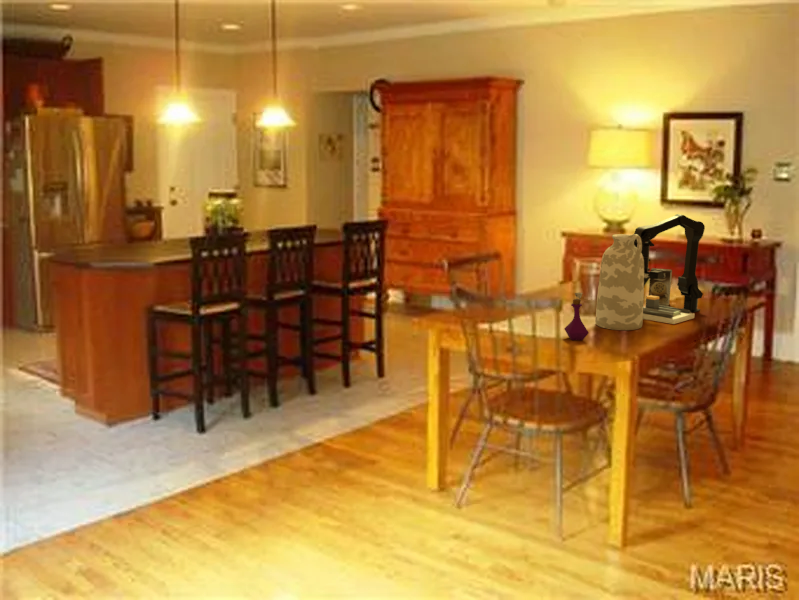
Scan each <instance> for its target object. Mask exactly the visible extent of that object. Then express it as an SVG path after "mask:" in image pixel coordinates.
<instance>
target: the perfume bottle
mask: <svg viewBox="0 0 799 600" xmlns="http://www.w3.org/2000/svg"><path fill="white" fill-rule="evenodd" d="M582 295H583V292H574V296H575V297H576V298H574V299H573V300H572V302H573V303H571V304H570V305H571V307H573V310H574V311H573V318H572V320H571V321H570V322H569V323H568V324H567V325H566V326H565V327H564V329H563V330H564V331H565V333H566V335H567V337H568V338H569V339H570V340H571V341H583V340H584V339H585V338H586V337H587V336H588V335H589V331H588V329H587V328H586V325H584V322H583V321H582V318H581V315H580V308H581V307H582V306H583V304H582V303H581V301H582V299H581V298H582Z"/></svg>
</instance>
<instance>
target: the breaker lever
mask: <svg viewBox="0 0 799 600" xmlns="http://www.w3.org/2000/svg"><path fill="white" fill-rule="evenodd" d="M645 306H646V308H651V309H657V310H659V296H652V295H650V296H649V295H647V296H646V297H645Z"/></svg>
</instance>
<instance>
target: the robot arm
mask: <svg viewBox="0 0 799 600" xmlns="http://www.w3.org/2000/svg"><path fill="white" fill-rule="evenodd" d="M678 226H680V227H681V228H683V229H684V236H685V237H686V248H685V249H686V251H685V260H684V268H683V273H682V275H681V276H678V277H677V283H676V285H677V287H678V288H677V289H678V290H679V292H680V295H681V296H684V299H683V307H682V308H681V309H686V310H690V313H696V312H699V311H701V309H700V308H698V303H699V299H702V298H703V296H704V295H703V294H704V293H703V292H702V290H701V289H700V288H699V280H698V278H697V275H696V272H697V263H698V255H699V247H700V246H699V245H700V244H699V243H700V241H701V239H702V238H703V236H704V233H705V227H706V226H705V224H704V223H703V222H702V221H698V220H693V219H692V218H689V217H688V216H686V215H684V214H679V213H677V214H675V215H674V216H671V217H668V218H665V219H663V220H661V221H659V222H655V223H654V224H650V225H649V224H648V225H642V226H638V227H637V228H635V231H634V233H633V234H637V235H639V236H640V238H641V241H642V251H641V253H642V255H643V259H644V287H645V286H646V284H647V283H648V281H649V280H650V278H652V279H660V278H664V273H663V272H662V271H656V270H655V271H651V268H650V267H649V262H651V258H650V247H655V244H654V243H653V241H652V240H653V239H655V238H656V237H657V236H658V235H659V234H661V233H664V232H665V231H668V230H671V229H673V228H675V227H678ZM634 245H635V247H637V246H638V243H637V239H635V241H634Z"/></svg>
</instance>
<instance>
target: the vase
mask: <svg viewBox="0 0 799 600" xmlns="http://www.w3.org/2000/svg"><path fill="white" fill-rule="evenodd" d="M611 237H612V239H613V243H612V245H610V246H609V247H607V248H606V249H605V251H604V252H603V254H602V257H601V260H600V261H601V262H600V269H599V278H598V288H597V296H596V309H595V325H596V326H598V327H599V328H602V329H607V330H611V331H612V330H613V331H635V330H639V329H642V327H643V324H644V323H643V320H644V319H643V307H644V304H645V303H644V302H645V301H644V297H645V296H644V295H645V294H644V293H645V289H644V288H645V286H644V259H643V255H642V253H641V251H642V241H641V238H640V236H639V235H637V234H634V233H633V234H626V233H624V234H622V233H621V234H620V233H619V234H617V233H616V234H613V235H612V236H611ZM635 239H637V243H638V246H637V247H635V245H634V241H635Z"/></svg>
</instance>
